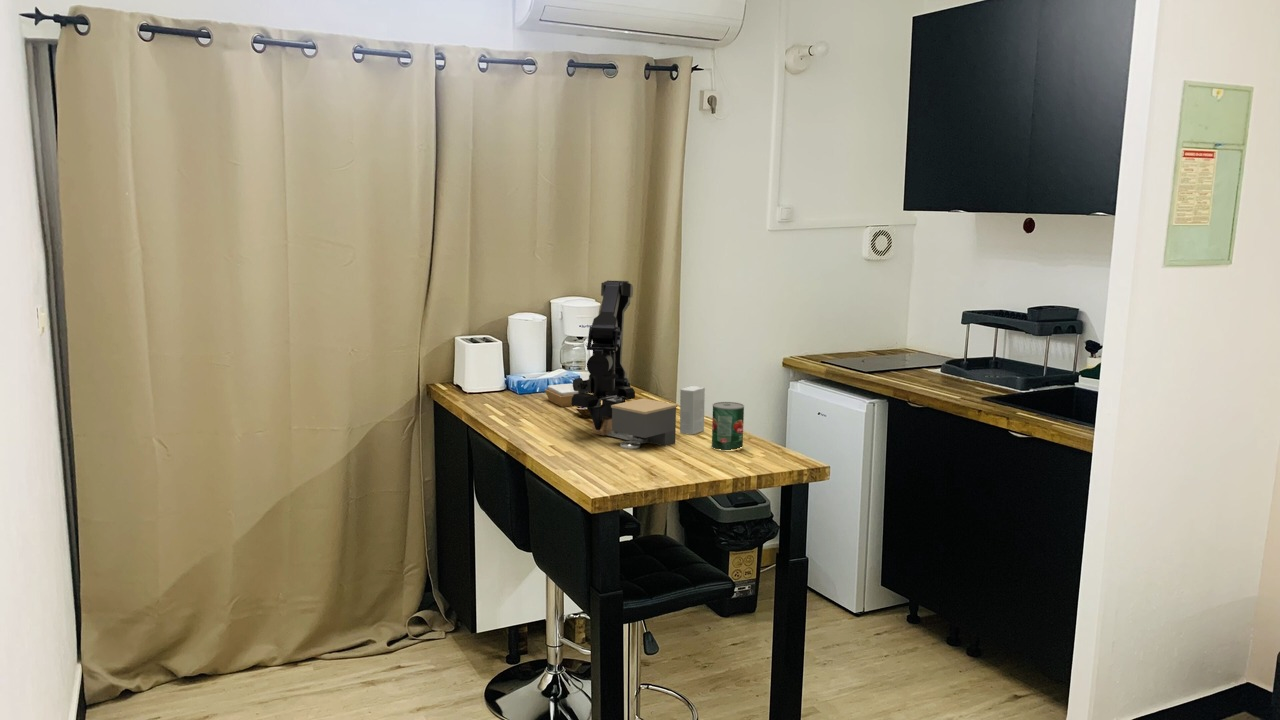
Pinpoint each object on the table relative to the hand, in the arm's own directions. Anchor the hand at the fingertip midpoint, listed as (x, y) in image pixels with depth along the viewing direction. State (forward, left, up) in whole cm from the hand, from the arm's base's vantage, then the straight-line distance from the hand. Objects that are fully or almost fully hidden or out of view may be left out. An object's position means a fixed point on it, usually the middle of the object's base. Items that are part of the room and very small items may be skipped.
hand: (603, 428), depth 259 cm
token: (+4, +14, -2) cm, 14 cm away
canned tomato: (-12, +32, -2) cm, 34 cm away
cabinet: (0, +14, -2) cm, 14 cm away
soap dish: (-22, -36, -2) cm, 42 cm away
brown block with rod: (0, +6, -1) cm, 7 cm away
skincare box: (-19, +15, -2) cm, 24 cm away
